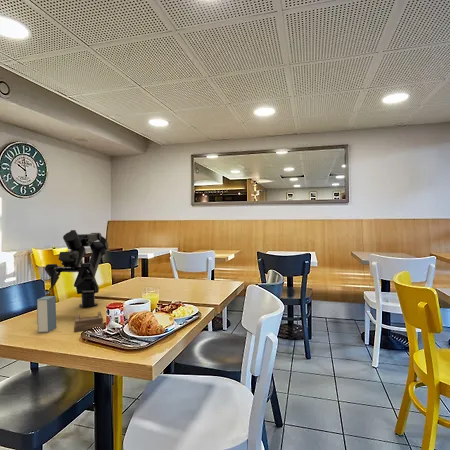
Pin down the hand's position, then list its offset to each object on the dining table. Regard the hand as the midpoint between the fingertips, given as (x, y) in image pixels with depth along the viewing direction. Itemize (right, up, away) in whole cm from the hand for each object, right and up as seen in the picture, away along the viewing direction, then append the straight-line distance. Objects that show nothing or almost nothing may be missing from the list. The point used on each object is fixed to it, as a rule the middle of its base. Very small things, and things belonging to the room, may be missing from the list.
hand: (63, 286), depth 124 cm
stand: (+13, -14, -5) cm, 20 cm away
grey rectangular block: (-1, -14, -9) cm, 17 cm away
